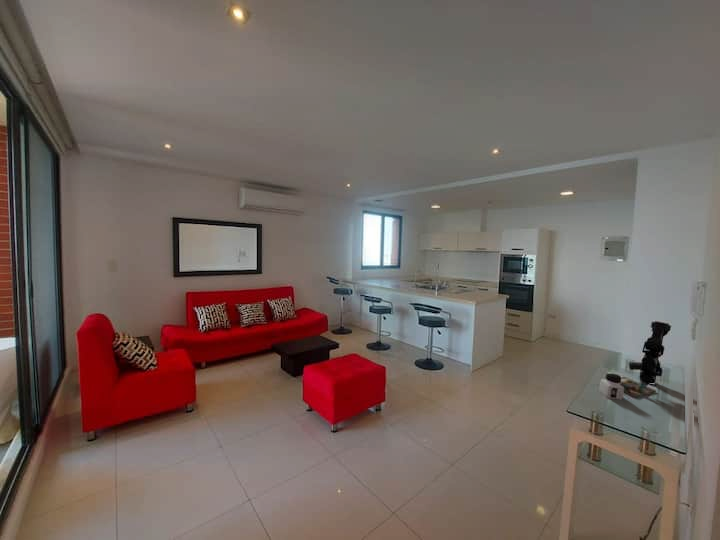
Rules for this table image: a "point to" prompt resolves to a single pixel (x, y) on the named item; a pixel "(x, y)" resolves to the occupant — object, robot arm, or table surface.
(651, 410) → the table surface
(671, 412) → the table surface
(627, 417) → the table surface
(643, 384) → the capstan
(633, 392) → the stand
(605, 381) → the container
